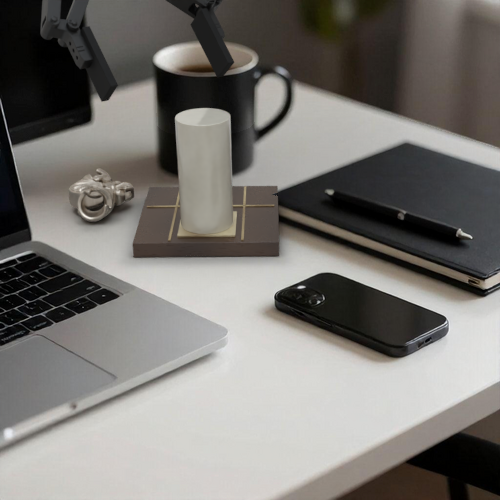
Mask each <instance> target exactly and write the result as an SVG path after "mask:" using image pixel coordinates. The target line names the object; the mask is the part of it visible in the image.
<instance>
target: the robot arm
mask: <svg viewBox="0 0 500 500" xmlns="http://www.w3.org/2000/svg"><path fill="white" fill-rule="evenodd" d="M89 1H90V0H72V4H71V6H70V8H69V11H68V14H67V16H66V19H65V18H61V15H62V14H61V11H62V0H42V1H41V16H40V17H41V18H40V33H39V34H40V37H42V39H44V40H47V41H50V40H52V39H53V38H54V39H57V42H58V45H59V46H60V47H62V48H68V51H69V53H70V55H71V56H72V60H73V61H74V63H75V65H76V67H78V68H79V70H83V69H85V70H86V72H87V75H88V76H89V79H90V81H91V82H92V85H93V87H94V89H95V91H96V93H97V94H98V97H99V100H100V102H101V103H103V102H107V101H109V100H111V97H112V96H113V95H114V93H115V91H116V90H117V88H118V86H119V84H118V82H117V81H116V78H115V76H114V74H113V72H112V70H111V68H110V66H109V64H108V61H107V60H106V58H105V55H104V53H103V51H102V49H101V47H100V45H99V42H98V41H97V39H96V37H95V34H94V33H93V31H92V28H91V26H90V25H89V26H82V27H81V28H80V26H81V24H82V20H83V18H84V16H85V13H86V10H87V8H88V4H89ZM223 1H224V0H165V2H167V3H169V4H170V5H172V6H174V8H177V9H178V10H180V11H181V12H183V13H184V14H186V15H188V16H189V17H191V19H193V20H192V21H191V22H190V27H191V29H192V31H193V32H194V33H193V34H194V35H195V37H196V38H197V41H198V42H199V44H200V47H201V48H202V50H203V53H204V54H205V56H206V58H207V60H208V62H209V64H210V66H211V68H212V70H213V72H214V74H215V76H216V78H223V77H224V76H225V75H226V74H227V73H228V71H229V70H230V68H231V67H232V66H233V65H234V63H235V61H234V58H233V57H232V55H231V52H230V51H229V48H228V46H227V44H226V43H225V41H224V38H225V37H226V36H225V35H226V34H225V30H224V29H223V27H222V24H221V23H220V21H219V20H218V17H217V15H216V11H217V9H218V8H219V6H220V5H221V4H222V3H223Z"/></svg>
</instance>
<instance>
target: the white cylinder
mask: <svg viewBox="0 0 500 500" xmlns="http://www.w3.org/2000/svg"><path fill="white" fill-rule="evenodd" d="M231 120H232V119H231V114H230V112H228V111H226V110H224V109H220V108H212V107H211V108H210V107H199V108H190V109H186V110H183V111H180V112H179V113H177V114H176V115H175V117H174V123H175V124H174V125H175V126H174V127H175V142H176V144H175V145H176V160H177V161H176V162H177V178H178V187H179V198H180V216H181V226H182V227H183V228H184V229H185V230H187V231H189V232H192V233H197V234H213V233H219V232H222V231H225V230H227V229H229V228H230V227H231V226H232V225H233V188H232V186H233V160H232V154H233V153H232V123H231V122H232V121H231Z"/></svg>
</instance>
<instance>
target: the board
mask: <svg viewBox="0 0 500 500" xmlns="http://www.w3.org/2000/svg"><path fill="white" fill-rule="evenodd" d="M232 188H233V225H232V226H231V227H230V228H229V229H227V230H225V231H222V232H219V233H213V234H197V233H192V232H189V231H187V230H185V229H184V228H183V227H182V226H181V216H180V198H179V186H149V187H148V190H147V194H146V196H145V200H144V203H143V207H142V210H141V214H140V217H139V220H138V224H137V227H136V231H135V233H134V237H133V241H132V254H133V257H134V258H164V257H165V258H166V257H167V258H169V257H174V258H177V257H180V258H181V257H185V258H186V257H187V258H189V257H278V256H280V226H279V225H280V223H279V222H280V221H279V195H278V196H277V195H276V196H275V195H272V194H274V193H278V194H279V189H278V188H279V187H278V185H235V186H234V185H232Z"/></svg>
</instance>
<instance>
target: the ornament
mask: <svg viewBox="0 0 500 500" xmlns="http://www.w3.org/2000/svg"><path fill="white" fill-rule="evenodd" d="M95 173H96V175H93V176H92V174H91V173H88V174H86V175H84V176H83V178H82V179H79V180H77V181H76V182H74V183H72V184H71V185H70V186H69V188H68V200H69V204H70V205H71V206H72V207H73V208H74V209H77V214H78V215H79V216H80V217H81V218H82V220H84V221H87V222H90V223H95V222H99V221H101V220H102V219H103V218H106V217H107V216H108V215H109V214H110V213H112V211H113V209H115V206H117V207H118V206H122V205H123V204H124V203H125V202H130V201H131V200H133V199H134V198H135V190H134V189H135V188H134V186H133V185H132V184H131V182H127V181H123V182H121V181H120V180H114V181H113V178H112V177H111V175H110V174H109V173H108V172H107V171H106V170H104V169H102V168H100V167H98V168H96V170H95ZM102 205H103V206H102ZM101 206H102V207H101ZM98 207H101V208H100V209H98V210H92V209H95V208H98Z"/></svg>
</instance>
